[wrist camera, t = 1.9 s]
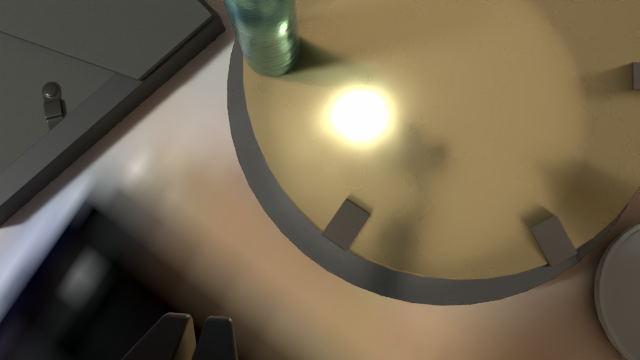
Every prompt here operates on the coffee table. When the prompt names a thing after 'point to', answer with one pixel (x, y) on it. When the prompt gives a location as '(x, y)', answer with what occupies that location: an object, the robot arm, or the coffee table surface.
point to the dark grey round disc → (346, 262)
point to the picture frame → (82, 77)
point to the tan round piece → (447, 124)
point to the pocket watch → (620, 292)
